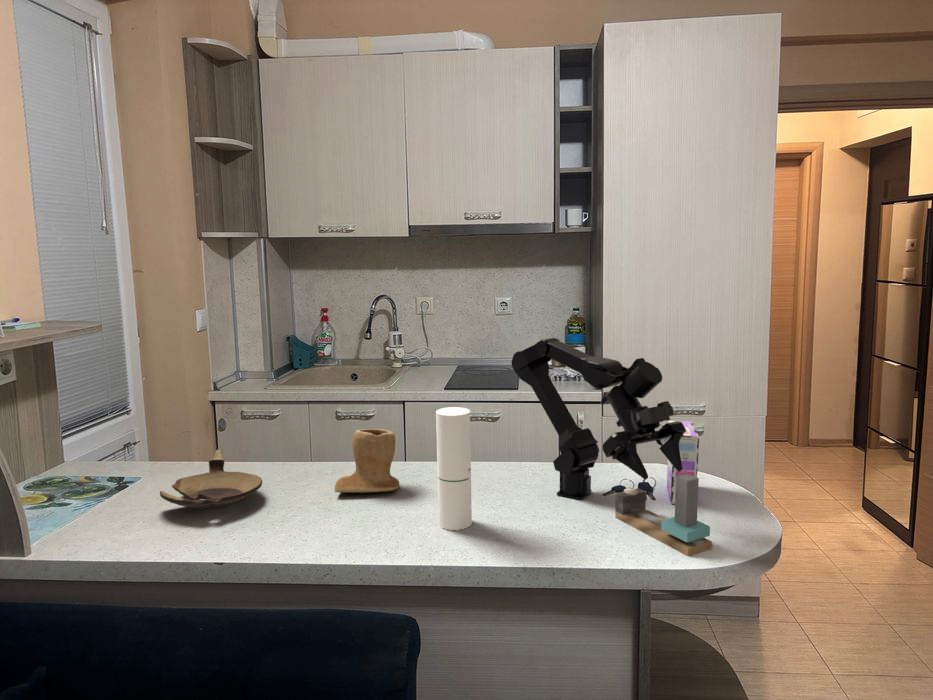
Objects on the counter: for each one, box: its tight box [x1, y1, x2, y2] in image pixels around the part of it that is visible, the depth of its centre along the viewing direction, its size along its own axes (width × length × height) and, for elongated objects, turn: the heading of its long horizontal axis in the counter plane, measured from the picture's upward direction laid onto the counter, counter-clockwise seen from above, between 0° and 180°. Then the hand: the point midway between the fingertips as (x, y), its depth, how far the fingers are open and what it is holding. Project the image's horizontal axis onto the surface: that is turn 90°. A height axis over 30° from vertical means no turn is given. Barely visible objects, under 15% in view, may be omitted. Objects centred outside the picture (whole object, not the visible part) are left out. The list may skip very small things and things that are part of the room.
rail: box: [614, 487, 713, 557], centre depth 147 cm, size 22×6×6 cm, turn 28°
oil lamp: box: [159, 449, 263, 509], centre depth 170 cm, size 22×30×8 cm
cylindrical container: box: [435, 406, 473, 531], centre depth 152 cm, size 7×7×25 cm
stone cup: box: [334, 428, 400, 494], centre depth 174 cm, size 15×12×15 cm
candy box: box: [666, 420, 700, 505], centre depth 167 cm, size 14×6×16 cm, turn 168°
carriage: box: [661, 474, 711, 542], centre depth 141 cm, size 7×6×12 cm
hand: (663, 474), depth 145 cm, fingers open, 9 cm apart
